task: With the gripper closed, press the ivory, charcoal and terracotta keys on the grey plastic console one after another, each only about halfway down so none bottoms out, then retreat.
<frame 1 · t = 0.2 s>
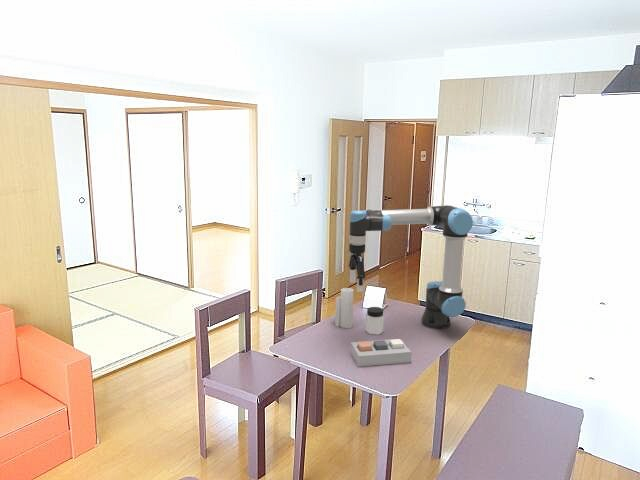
hand: (356, 287, 226), 28 cm above the table, fingers open, 13 cm apart
jar: (374, 331, 243), on the table
terracotta key: (364, 347, 212), point 6 cm above the table, slide at 0.0 cm
grey stepped double column: (342, 325, 251), on the table
ivory key: (396, 344, 215), point 6 cm above the table, slide at 0.0 cm
charcoal key: (380, 346, 214), point 6 cm above the table, slide at 0.0 cm
console: (380, 357, 215), on the table
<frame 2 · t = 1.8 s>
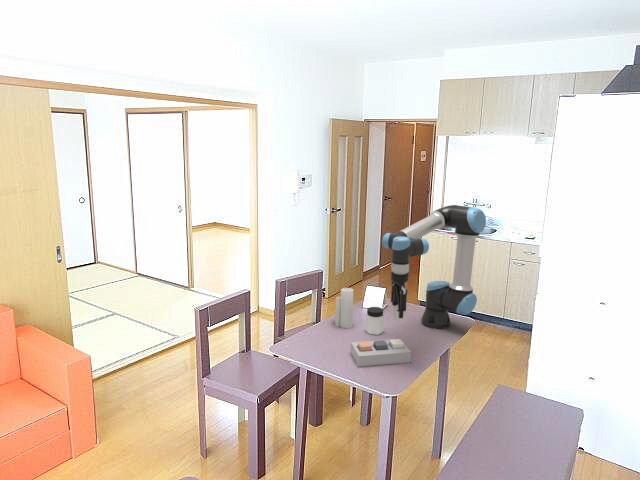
hand: (397, 321, 213), 17 cm above the table, fingers open, 5 cm apart
nothing on the table moved.
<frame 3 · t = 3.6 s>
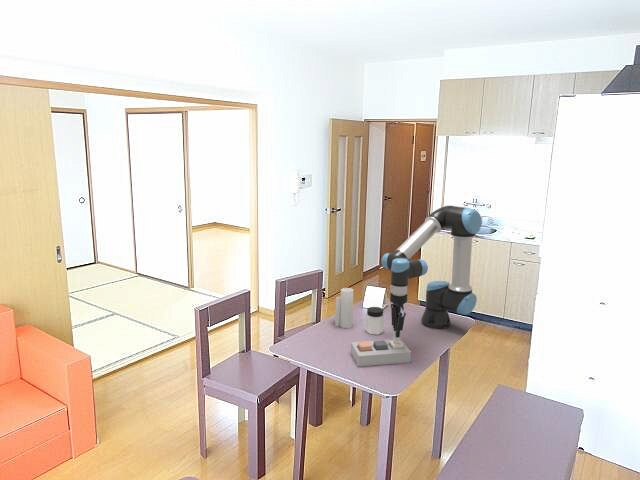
hand: (396, 342, 215), 7 cm above the table, fingers closed
ivory key: (396, 346, 215), point 5 cm above the table, slide at 0.7 cm, touching gripper
everything else where it was.
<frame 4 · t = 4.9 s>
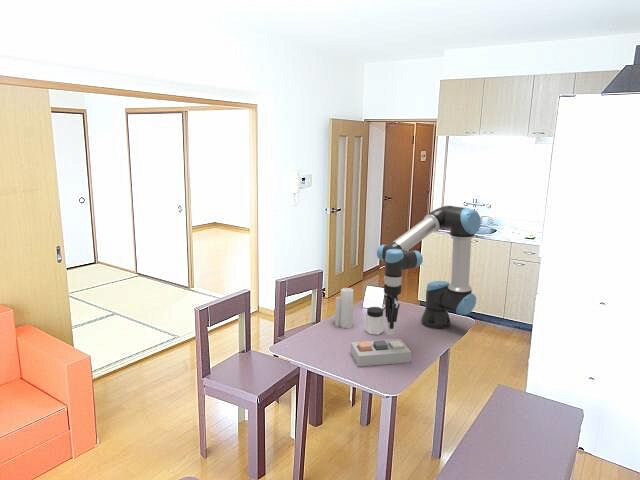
hand: (390, 334, 213), 11 cm above the table, fingers closed
ivory key: (396, 346, 215), point 5 cm above the table, slide at 1.0 cm
everything else where it was.
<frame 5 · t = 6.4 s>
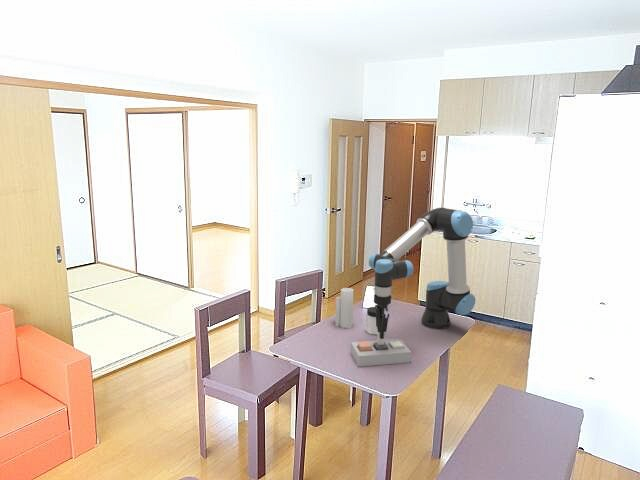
hand: (380, 344, 213), 6 cm above the table, fingers closed
charcoal key: (380, 347, 214), point 5 cm above the table, slide at 0.8 cm, touching gripper
everything else where it was.
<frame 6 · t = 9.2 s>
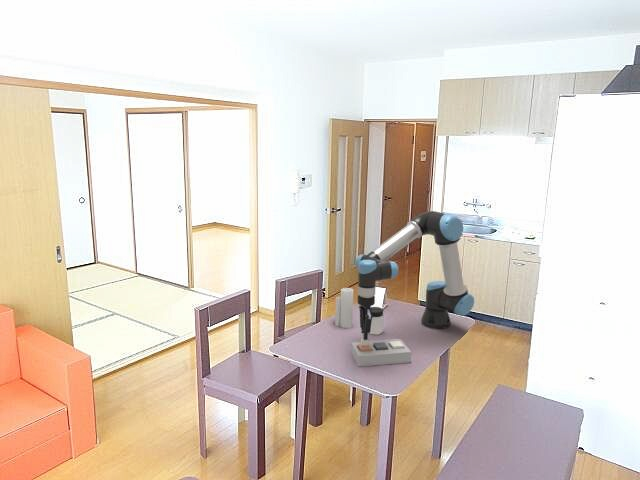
hand: (364, 345, 212), 7 cm above the table, fingers closed
terracotta key: (364, 348, 212), point 5 cm above the table, slide at 0.7 cm, touching gripper
charcoal key: (380, 348, 214), point 5 cm above the table, slide at 1.0 cm
everything else where it was.
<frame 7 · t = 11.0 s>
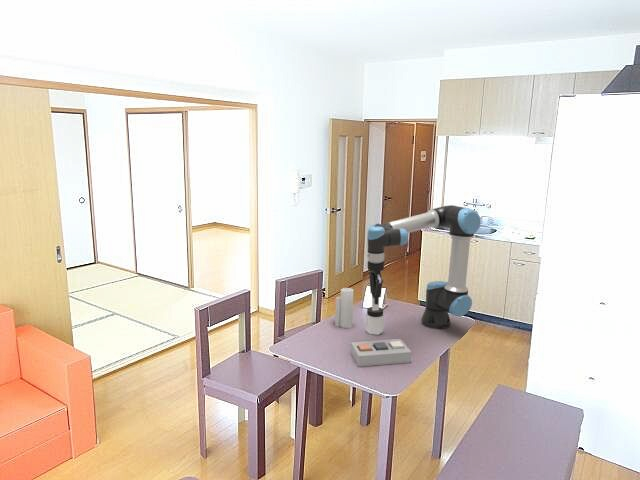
hand: (375, 309, 219), 19 cm above the table, fingers closed
terracotta key: (364, 349, 212), point 5 cm above the table, slide at 1.0 cm
everything else where it was.
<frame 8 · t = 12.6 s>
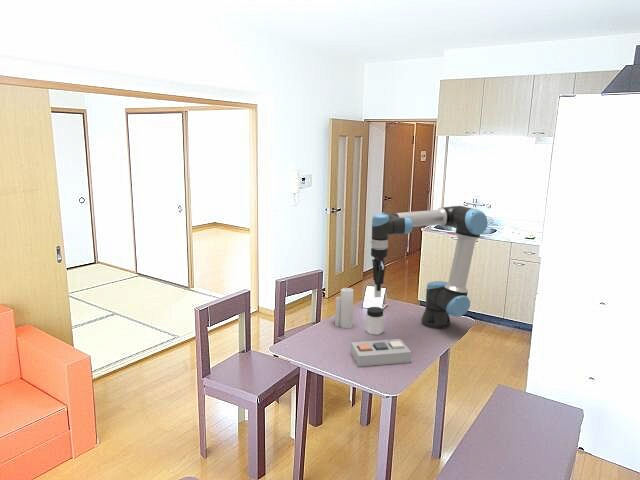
hand: (377, 296, 222), 24 cm above the table, fingers closed
nothing on the table moved.
at the end: ivory key slide at 1.0 cm; charcoal key slide at 1.0 cm; terracotta key slide at 1.0 cm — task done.
